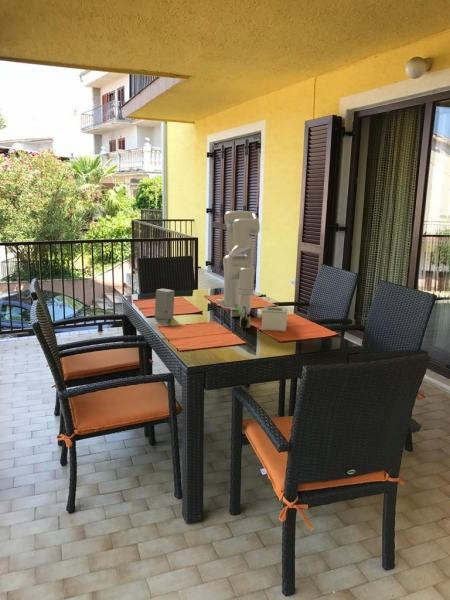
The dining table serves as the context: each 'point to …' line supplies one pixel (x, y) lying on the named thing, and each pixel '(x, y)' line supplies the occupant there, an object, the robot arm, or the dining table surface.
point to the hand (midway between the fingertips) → (245, 324)
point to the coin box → (274, 318)
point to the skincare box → (164, 304)
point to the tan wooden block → (247, 322)
